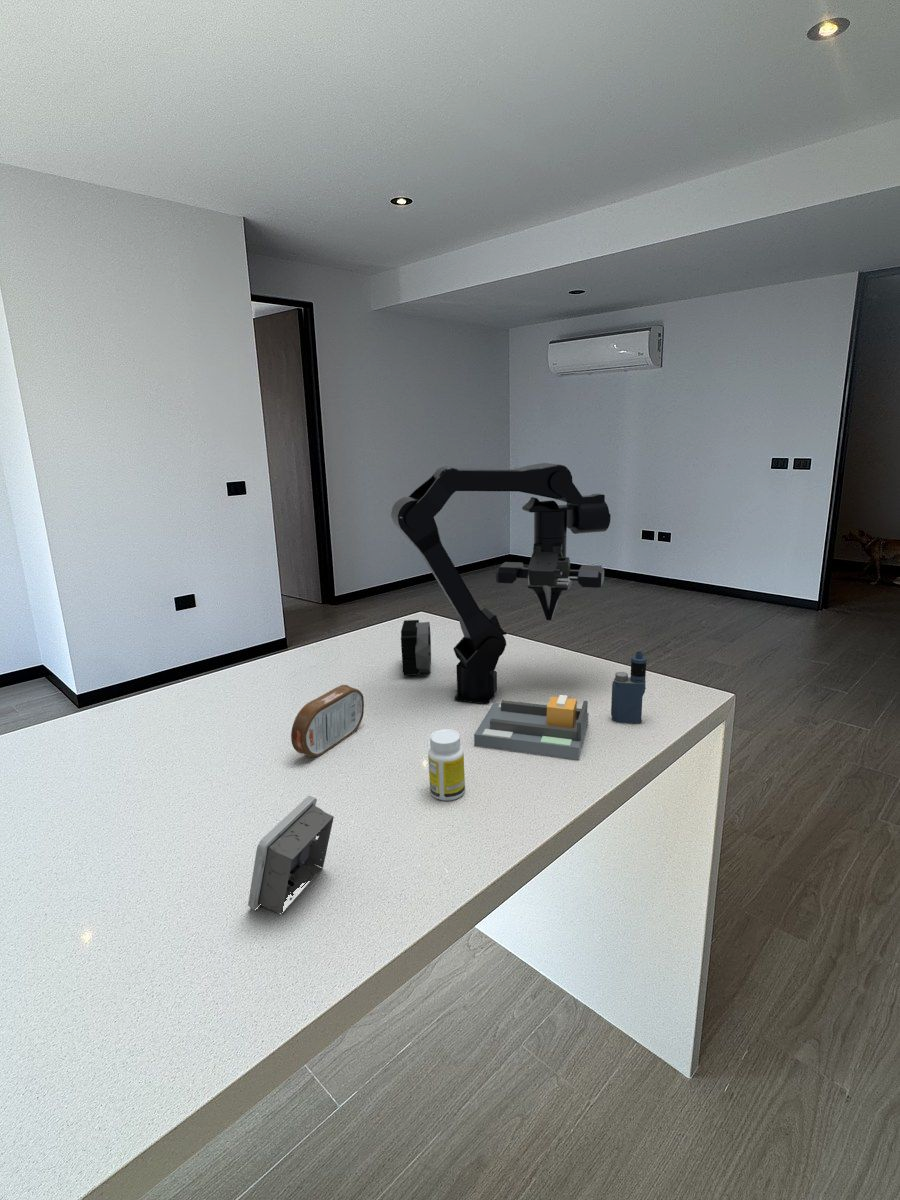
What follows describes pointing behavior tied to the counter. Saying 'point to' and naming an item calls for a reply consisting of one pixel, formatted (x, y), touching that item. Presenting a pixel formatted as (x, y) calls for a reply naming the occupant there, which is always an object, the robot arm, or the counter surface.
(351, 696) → the tin
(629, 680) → the vaping device
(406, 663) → the cpu cooler
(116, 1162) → the counter surface
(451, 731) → the supplement bottle
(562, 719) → the block
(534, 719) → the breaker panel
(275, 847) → the electrical switch
